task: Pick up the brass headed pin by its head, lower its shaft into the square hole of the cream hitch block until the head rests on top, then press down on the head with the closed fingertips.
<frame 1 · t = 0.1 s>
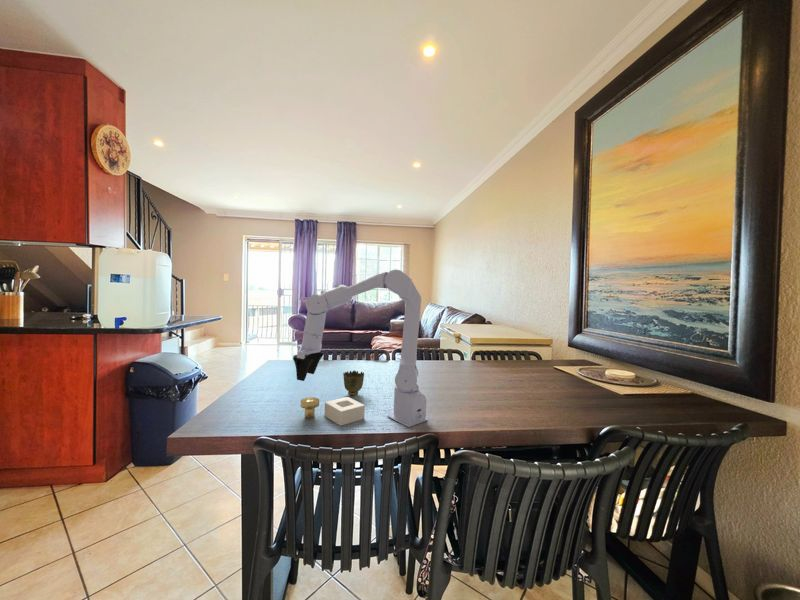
hand: (305, 376, 96), 10 cm above the table, tool pointing down, fingers open, 7 cm apart
hitch block: (344, 417, 92), on the table
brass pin: (309, 417, 91), on the table
cup: (353, 395, 112), on the table
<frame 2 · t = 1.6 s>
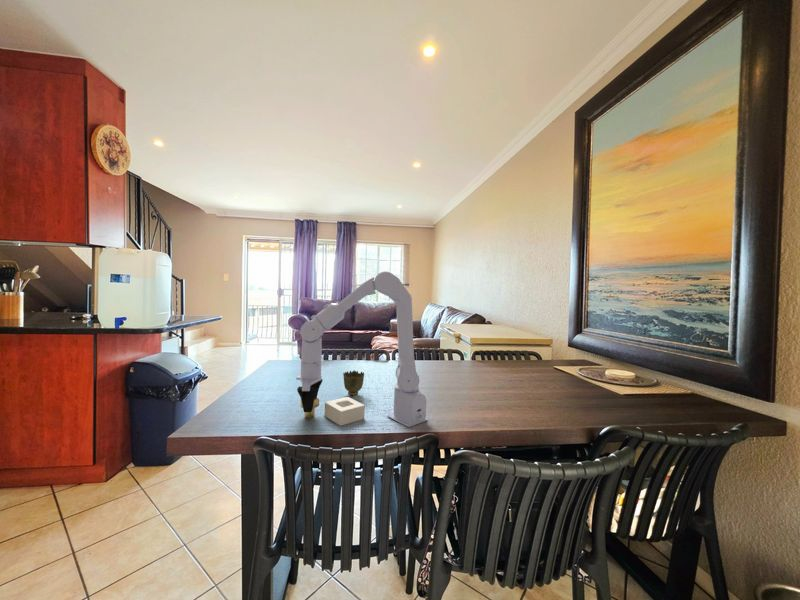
hand: (309, 407, 91), 3 cm above the table, tool pointing down, fingers closed on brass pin, 5 cm apart
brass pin: (309, 417, 91), on the table, touching gripper
everything else where it was.
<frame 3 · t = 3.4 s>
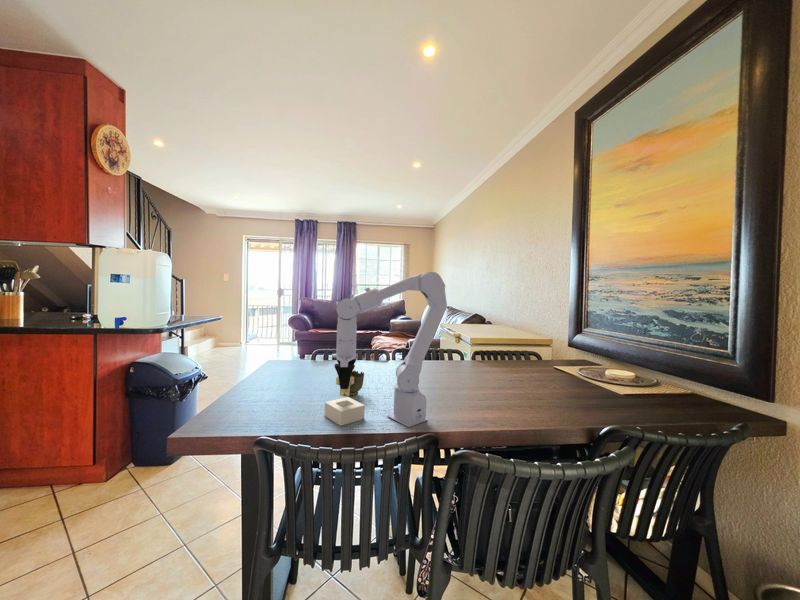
hand: (345, 385, 92), 9 cm above the table, tool pointing down, fingers closed on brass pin, 5 cm apart
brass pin: (344, 394, 92), point 7 cm above the table, touching gripper
everything else where it was.
when the fingers open (5 cm above the table, at t = 5.1 s): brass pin drops 1 cm, resting on hitch block.
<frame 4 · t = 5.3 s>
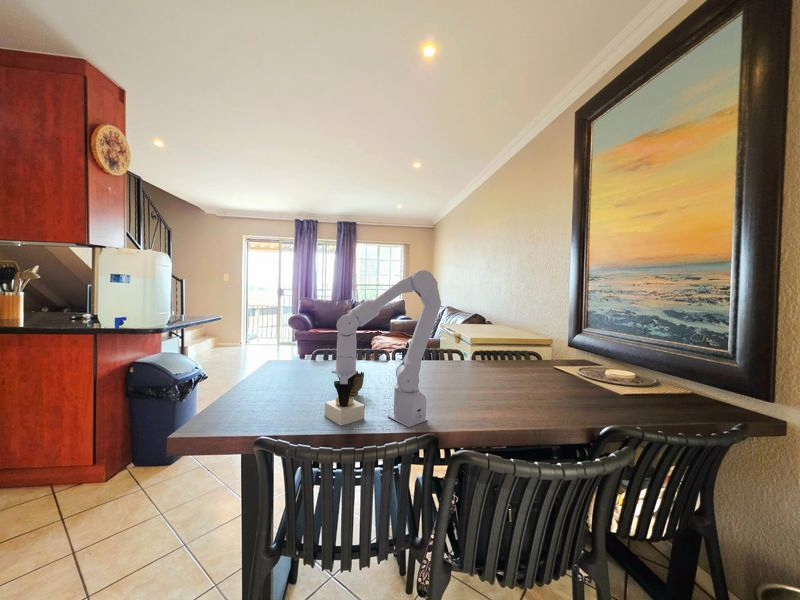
hand: (344, 401, 92), 5 cm above the table, tool pointing down, fingers open, 7 cm apart
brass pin: (344, 415, 92), resting on hitch block
everything else where it was.
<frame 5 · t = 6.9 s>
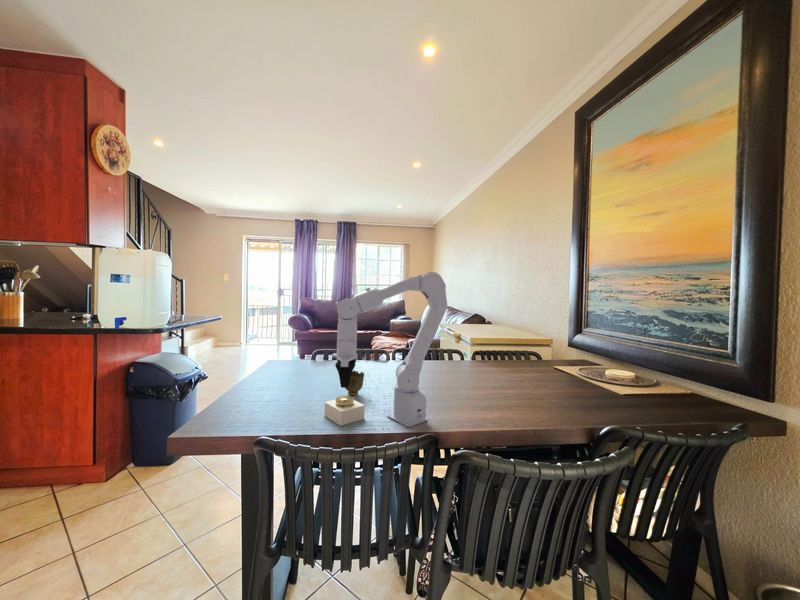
hand: (345, 385, 92), 9 cm above the table, tool pointing down, fingers open, 3 cm apart
nothing on the table moved.
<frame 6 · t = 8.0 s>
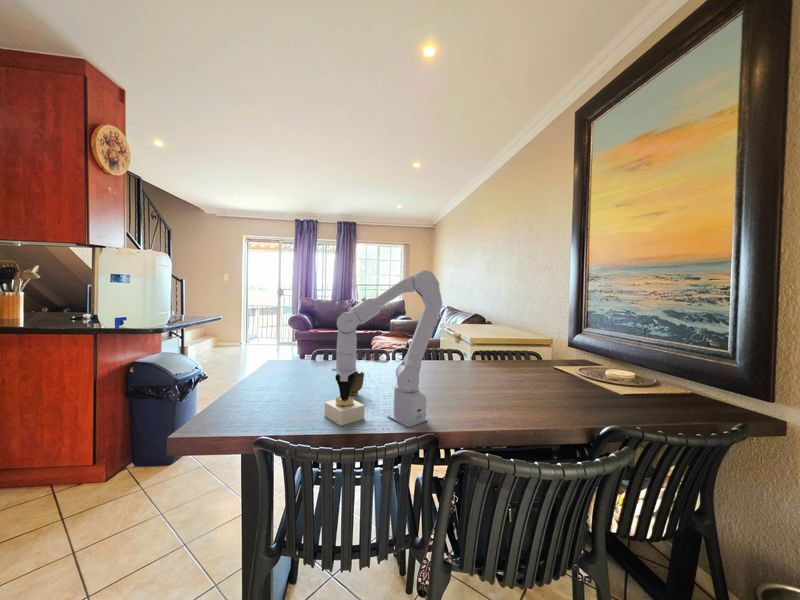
hand: (344, 398, 92), 5 cm above the table, tool pointing down, fingers closed, pressing on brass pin
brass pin: (344, 415, 92), resting on hitch block, touching gripper
everything else where it was.
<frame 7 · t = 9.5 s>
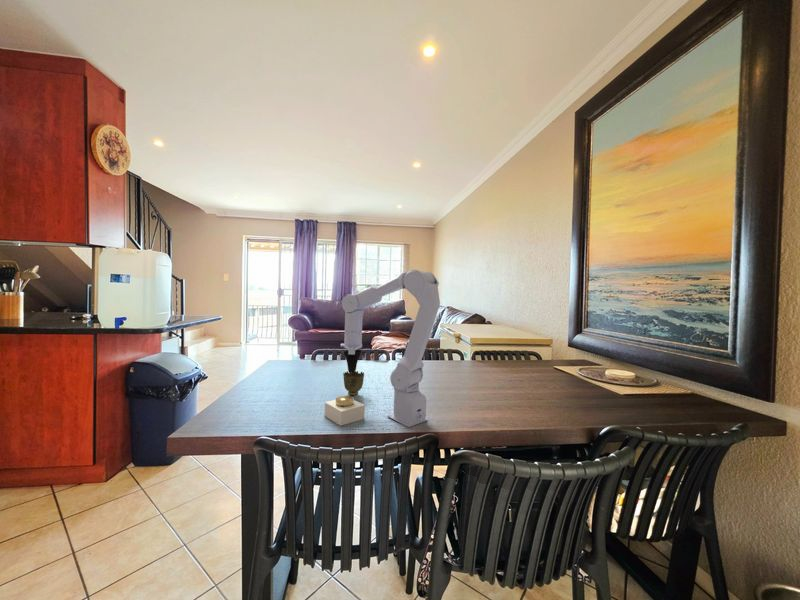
hand: (351, 371, 104), 10 cm above the table, tool pointing down, fingers closed
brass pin: (344, 415, 92), resting on hitch block
everything else where it was.
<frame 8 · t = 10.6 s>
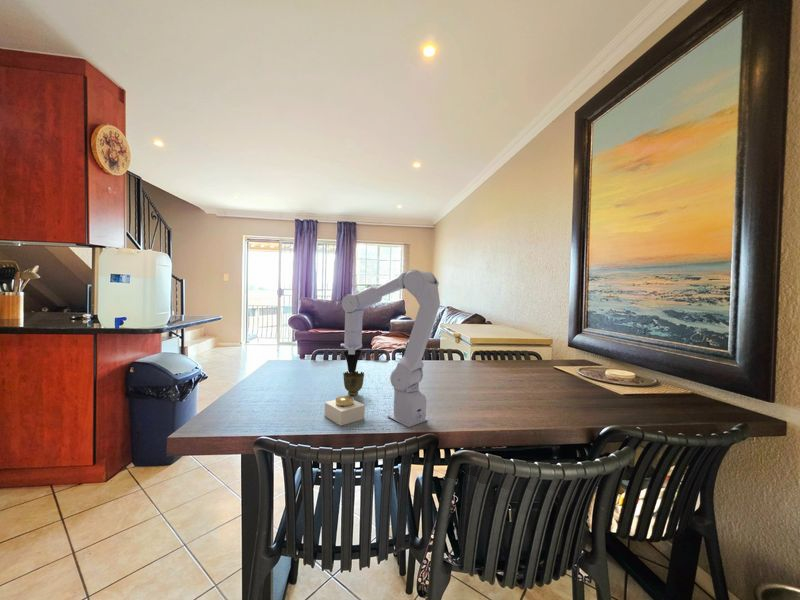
hand: (351, 371, 104), 10 cm above the table, tool pointing down, fingers closed
nothing on the table moved.
at the end: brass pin 0.0 cm off-centre on the hitch block, point 0.5 cm above the hitch block's base; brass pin tilted 0°; the gripper is holding nothing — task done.
